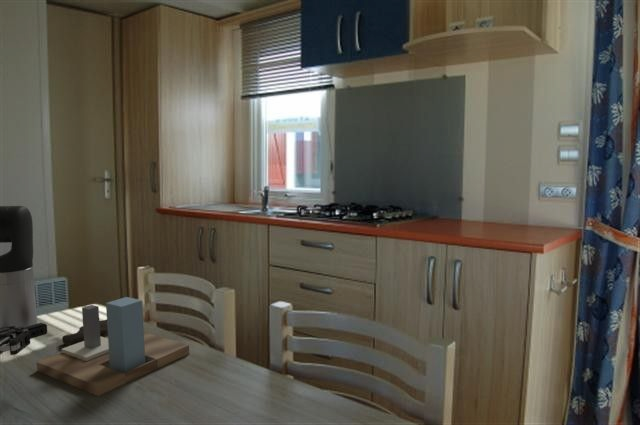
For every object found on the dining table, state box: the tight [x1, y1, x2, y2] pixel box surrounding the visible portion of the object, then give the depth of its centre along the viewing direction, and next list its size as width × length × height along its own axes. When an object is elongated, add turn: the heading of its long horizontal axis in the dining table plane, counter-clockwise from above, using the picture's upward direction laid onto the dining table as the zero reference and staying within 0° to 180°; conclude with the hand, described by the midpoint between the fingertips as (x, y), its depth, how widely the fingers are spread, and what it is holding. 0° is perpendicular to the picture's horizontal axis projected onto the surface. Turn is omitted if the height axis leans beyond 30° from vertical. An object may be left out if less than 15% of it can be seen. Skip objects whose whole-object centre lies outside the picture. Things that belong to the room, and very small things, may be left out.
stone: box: [61, 319, 108, 347], centre depth 124 cm, size 18×11×3 cm, turn 137°
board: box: [36, 332, 190, 397], centre depth 107 cm, size 21×23×2 cm
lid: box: [61, 304, 109, 361], centre depth 108 cm, size 9×9×10 cm
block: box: [105, 296, 145, 373], centre depth 102 cm, size 5×5×15 cm
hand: (44, 327), depth 99 cm, fingers closed
